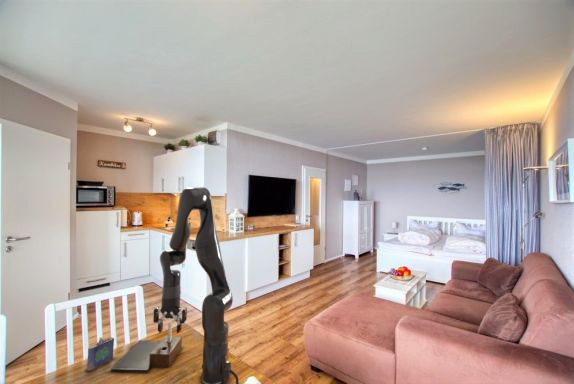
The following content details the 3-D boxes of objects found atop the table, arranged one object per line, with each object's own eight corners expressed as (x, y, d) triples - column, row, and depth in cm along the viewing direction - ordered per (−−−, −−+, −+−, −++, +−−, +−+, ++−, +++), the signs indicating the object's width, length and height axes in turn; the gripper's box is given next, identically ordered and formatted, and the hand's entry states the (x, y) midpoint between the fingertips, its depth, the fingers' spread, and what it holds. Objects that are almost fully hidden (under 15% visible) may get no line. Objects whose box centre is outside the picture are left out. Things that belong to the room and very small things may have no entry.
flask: (88, 372, 99) (90, 344, 99) (85, 369, 100) (86, 342, 100) (114, 359, 107) (115, 333, 107) (110, 357, 108) (111, 331, 108)
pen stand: (181, 348, 116) (181, 337, 116) (168, 367, 103) (169, 354, 103) (163, 347, 116) (164, 336, 116) (149, 366, 103) (149, 354, 103)
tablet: (169, 343, 120) (169, 340, 120) (146, 372, 100) (147, 369, 100) (139, 342, 119) (139, 340, 119) (110, 371, 99) (111, 369, 99)
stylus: (171, 352, 113) (172, 321, 113) (169, 354, 112) (171, 323, 112) (167, 352, 113) (169, 321, 113) (166, 354, 112) (167, 323, 112)
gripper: (150, 297, 109) (148, 336, 109) (184, 298, 109) (182, 337, 109) (159, 290, 116) (157, 327, 116) (190, 291, 117) (188, 328, 116)
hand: (169, 331), depth 112 cm, fingers open, 7 cm apart
